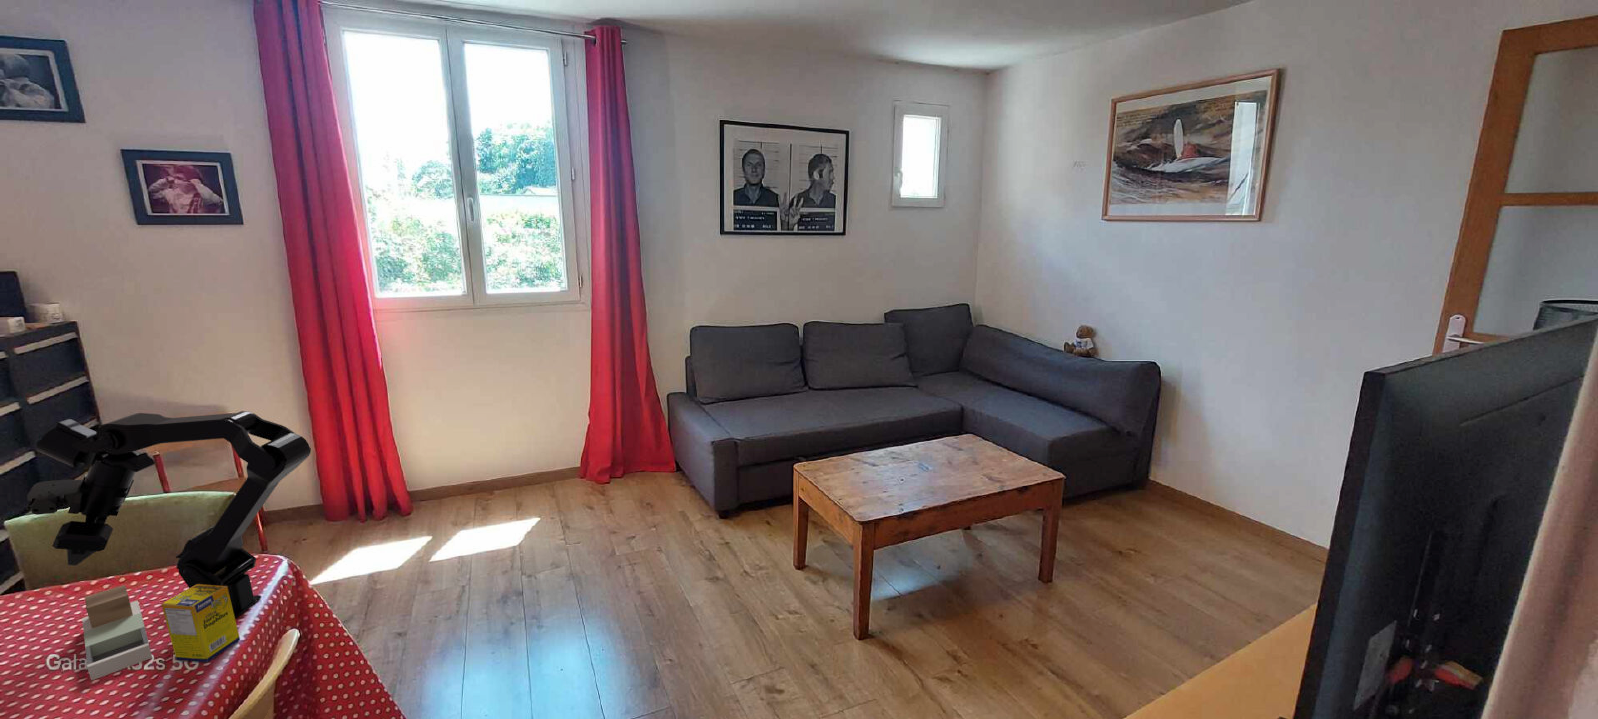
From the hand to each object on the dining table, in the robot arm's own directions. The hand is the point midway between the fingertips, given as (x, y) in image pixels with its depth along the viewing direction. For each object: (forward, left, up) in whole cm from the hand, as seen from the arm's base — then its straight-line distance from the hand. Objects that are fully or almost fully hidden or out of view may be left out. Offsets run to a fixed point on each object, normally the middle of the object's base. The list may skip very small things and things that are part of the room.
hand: (80, 546), depth 116 cm
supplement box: (-28, +13, -14) cm, 34 cm away
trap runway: (-10, +8, -14) cm, 19 cm away
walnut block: (-7, +5, -11) cm, 14 cm away
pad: (-11, +9, -14) cm, 20 cm away
